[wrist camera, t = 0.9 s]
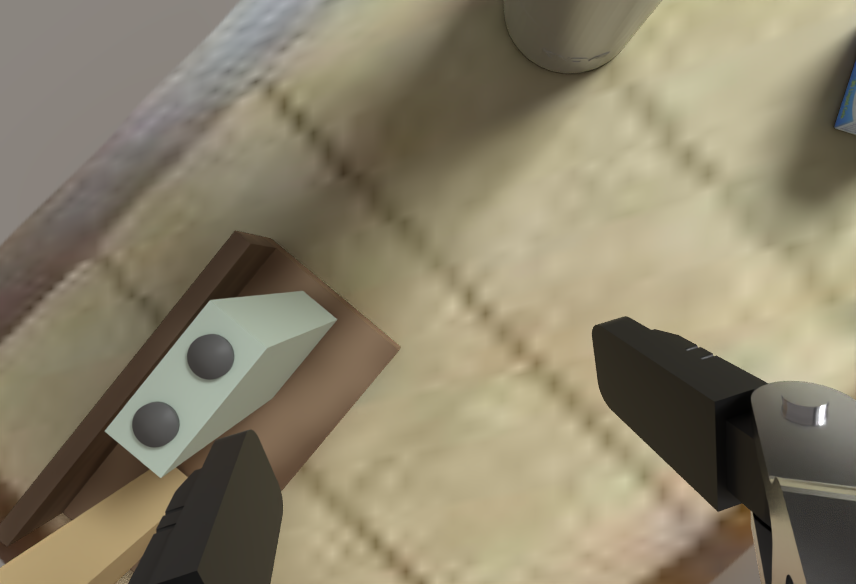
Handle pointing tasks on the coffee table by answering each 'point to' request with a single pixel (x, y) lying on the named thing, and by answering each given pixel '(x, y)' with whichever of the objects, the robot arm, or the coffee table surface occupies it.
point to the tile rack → (273, 422)
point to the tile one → (99, 537)
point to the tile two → (218, 375)
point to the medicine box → (848, 107)
